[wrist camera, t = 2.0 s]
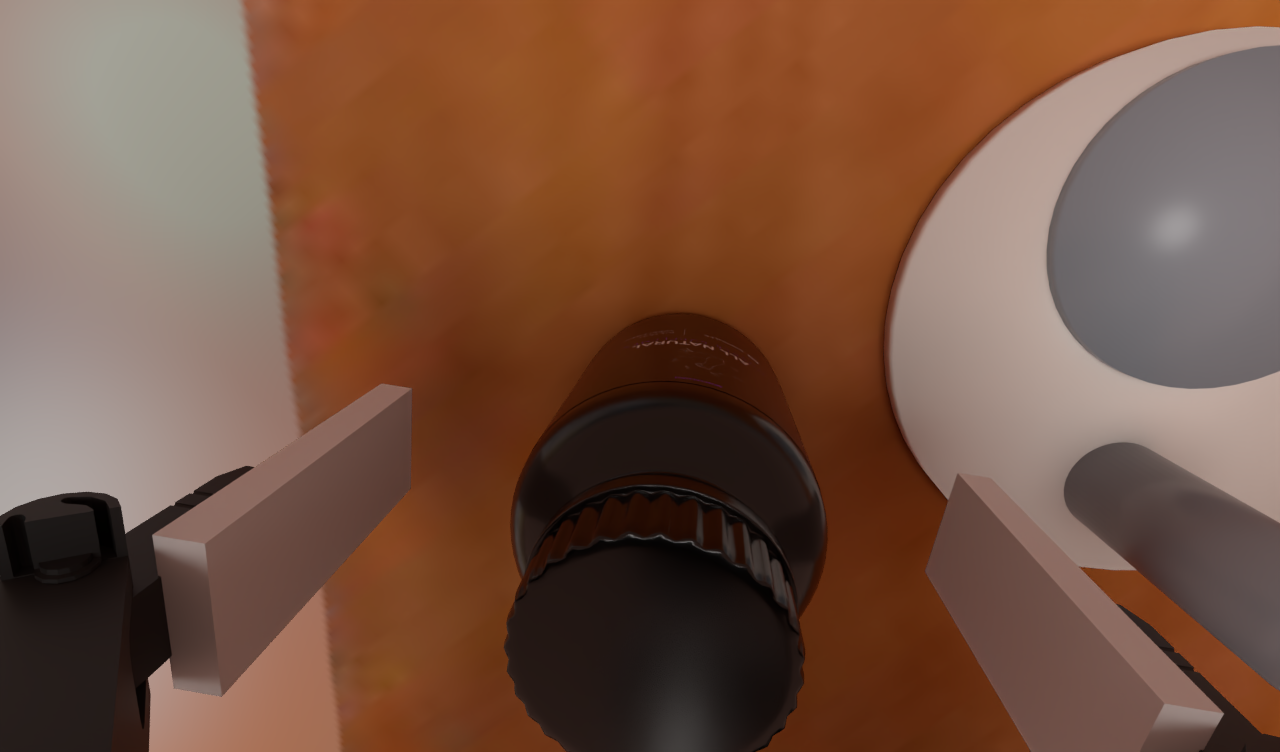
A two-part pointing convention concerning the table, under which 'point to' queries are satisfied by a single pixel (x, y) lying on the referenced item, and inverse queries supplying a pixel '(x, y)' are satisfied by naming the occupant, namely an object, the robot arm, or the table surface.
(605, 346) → the supplement bottle
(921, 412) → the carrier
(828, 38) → the table surface
